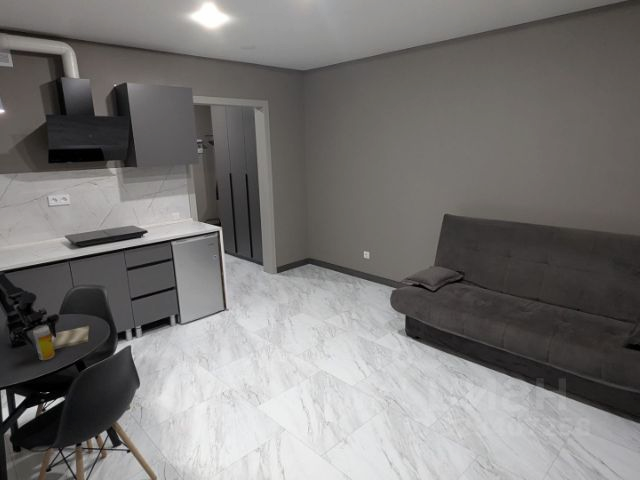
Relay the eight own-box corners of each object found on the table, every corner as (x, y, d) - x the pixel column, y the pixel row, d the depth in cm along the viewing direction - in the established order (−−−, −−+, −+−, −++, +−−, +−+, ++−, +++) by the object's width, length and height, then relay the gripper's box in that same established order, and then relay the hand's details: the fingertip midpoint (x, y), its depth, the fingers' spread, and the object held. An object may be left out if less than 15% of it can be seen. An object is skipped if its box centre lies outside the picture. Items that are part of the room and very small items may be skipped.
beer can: (58, 354, 187) (51, 325, 183) (46, 361, 182) (38, 331, 178) (48, 353, 189) (41, 323, 185) (36, 360, 184) (28, 330, 180)
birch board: (49, 350, 191) (48, 347, 191) (53, 336, 205) (53, 333, 205) (88, 341, 198) (87, 339, 198) (89, 328, 212) (89, 325, 212)
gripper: (6, 313, 173) (24, 342, 170) (53, 297, 188) (70, 324, 186) (3, 326, 180) (20, 354, 177) (48, 310, 195) (65, 336, 192)
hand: (44, 341), depth 182 cm, fingers open, 9 cm apart
